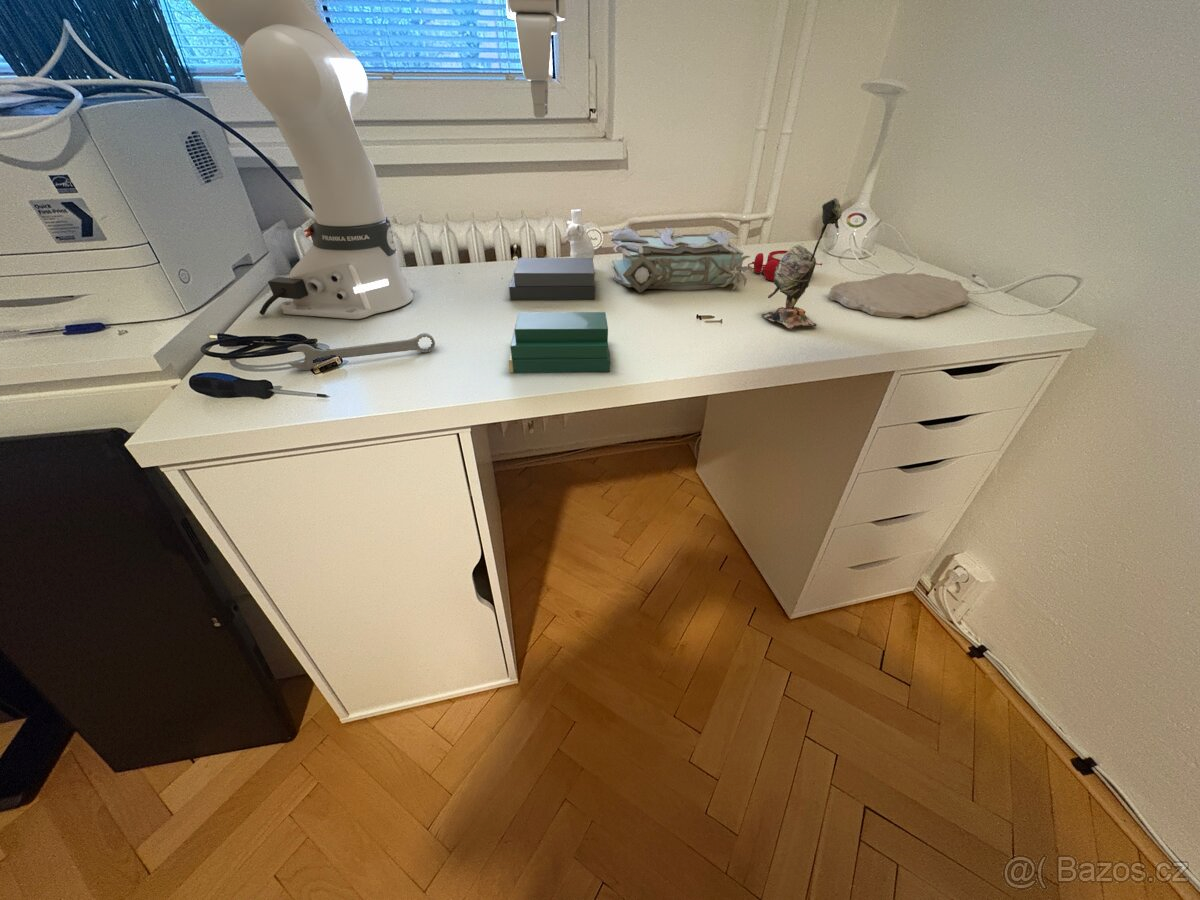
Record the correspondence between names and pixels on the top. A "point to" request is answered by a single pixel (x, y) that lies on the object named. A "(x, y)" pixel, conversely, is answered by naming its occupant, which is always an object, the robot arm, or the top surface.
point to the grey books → (553, 279)
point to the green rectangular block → (559, 357)
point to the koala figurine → (578, 237)
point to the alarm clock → (768, 263)
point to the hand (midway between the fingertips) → (541, 116)
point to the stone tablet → (901, 295)
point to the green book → (561, 327)
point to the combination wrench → (357, 350)
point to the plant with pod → (799, 274)
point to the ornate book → (677, 260)
